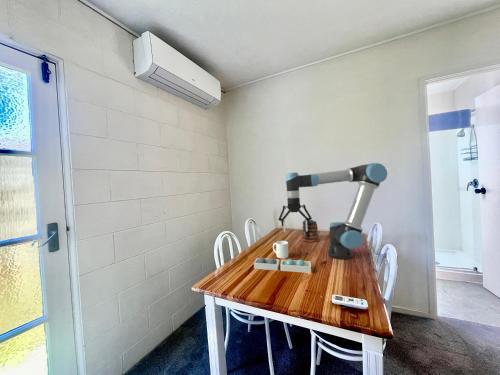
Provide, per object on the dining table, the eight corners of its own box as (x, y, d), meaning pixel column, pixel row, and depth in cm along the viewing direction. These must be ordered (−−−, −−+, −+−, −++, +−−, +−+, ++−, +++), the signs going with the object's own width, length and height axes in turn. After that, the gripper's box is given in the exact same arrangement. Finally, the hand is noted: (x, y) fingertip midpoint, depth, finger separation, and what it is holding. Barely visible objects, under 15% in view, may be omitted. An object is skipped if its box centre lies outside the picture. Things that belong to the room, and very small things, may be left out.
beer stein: (315, 244, 166) (315, 220, 165) (298, 242, 173) (297, 219, 172) (320, 238, 182) (320, 216, 181) (304, 236, 189) (303, 215, 189)
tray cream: (310, 267, 123) (310, 261, 123) (311, 274, 115) (310, 267, 115) (282, 265, 127) (281, 259, 127) (280, 271, 119) (280, 264, 119)
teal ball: (294, 266, 124) (294, 258, 124) (294, 270, 118) (294, 261, 118) (285, 265, 125) (285, 257, 125) (284, 269, 120) (284, 260, 120)
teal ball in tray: (307, 264, 122) (301, 256, 123) (307, 267, 117) (301, 259, 117) (299, 269, 123) (294, 261, 124) (299, 272, 118) (293, 264, 119)
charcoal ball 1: (266, 264, 128) (266, 256, 128) (265, 268, 123) (264, 259, 123) (258, 264, 130) (258, 255, 129) (256, 267, 124) (256, 258, 124)
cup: (284, 260, 136) (284, 245, 136) (269, 256, 144) (269, 242, 144) (290, 256, 142) (290, 242, 142) (276, 252, 150) (275, 239, 150)
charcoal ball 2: (277, 265, 127) (276, 256, 126) (275, 269, 121) (275, 260, 121) (268, 264, 128) (268, 256, 128) (266, 268, 123) (266, 259, 122)
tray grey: (279, 265, 128) (278, 259, 127) (277, 271, 120) (277, 264, 120) (257, 264, 131) (256, 258, 131) (254, 269, 123) (253, 263, 123)
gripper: (313, 195, 128) (315, 229, 128) (274, 197, 133) (276, 230, 134) (314, 196, 120) (317, 232, 121) (272, 199, 126) (275, 233, 126)
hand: (295, 231), depth 127 cm, fingers open, 13 cm apart
